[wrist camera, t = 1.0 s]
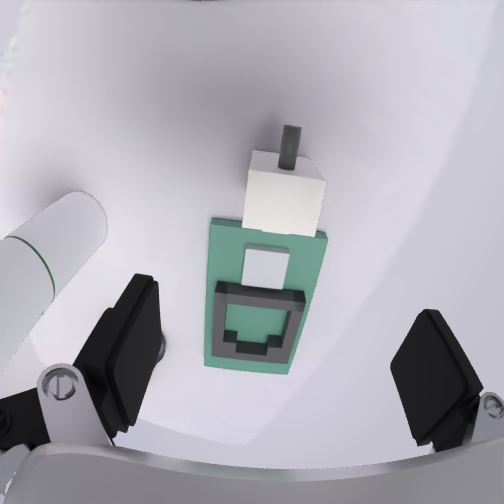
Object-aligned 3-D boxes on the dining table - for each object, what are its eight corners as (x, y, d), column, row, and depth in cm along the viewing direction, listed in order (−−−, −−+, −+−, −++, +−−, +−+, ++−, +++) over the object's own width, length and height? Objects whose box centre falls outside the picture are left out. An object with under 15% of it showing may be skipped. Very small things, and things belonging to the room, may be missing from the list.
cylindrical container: (48, 216, 29) (-99, 364, 7) (78, 178, 27) (-112, 335, 5) (85, 260, 32) (-35, 434, 10) (119, 227, 29) (-29, 432, 7)
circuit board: (212, 218, 29) (206, 233, 25) (325, 232, 29) (332, 249, 26) (205, 357, 38) (202, 377, 35) (287, 366, 38) (288, 386, 35)
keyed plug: (257, 116, 24) (254, 122, 17) (314, 125, 24) (335, 136, 17) (246, 202, 28) (240, 240, 21) (299, 209, 28) (311, 249, 21)
